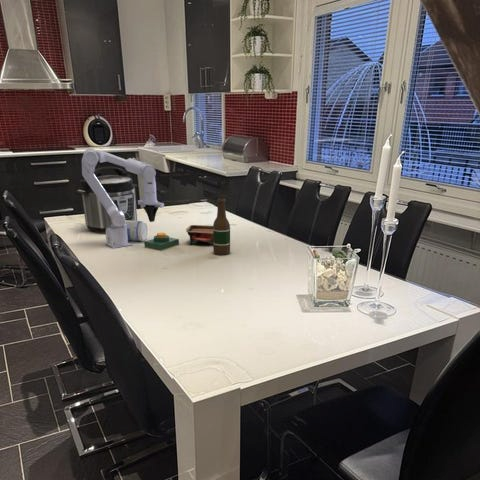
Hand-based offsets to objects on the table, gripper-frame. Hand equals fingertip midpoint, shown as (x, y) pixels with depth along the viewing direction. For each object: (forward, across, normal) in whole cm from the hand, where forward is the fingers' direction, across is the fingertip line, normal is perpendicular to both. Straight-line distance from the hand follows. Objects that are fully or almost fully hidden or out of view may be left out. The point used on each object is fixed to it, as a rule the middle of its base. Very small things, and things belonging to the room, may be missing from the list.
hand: (151, 221), depth 220 cm
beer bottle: (+11, -37, -5) cm, 39 cm away
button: (+6, -7, +2) cm, 10 cm away
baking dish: (+11, -20, -15) cm, 27 cm away
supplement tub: (+5, +6, -1) cm, 8 cm away
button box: (+10, -7, +2) cm, 13 cm away
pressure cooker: (+10, +37, -9) cm, 40 cm away
